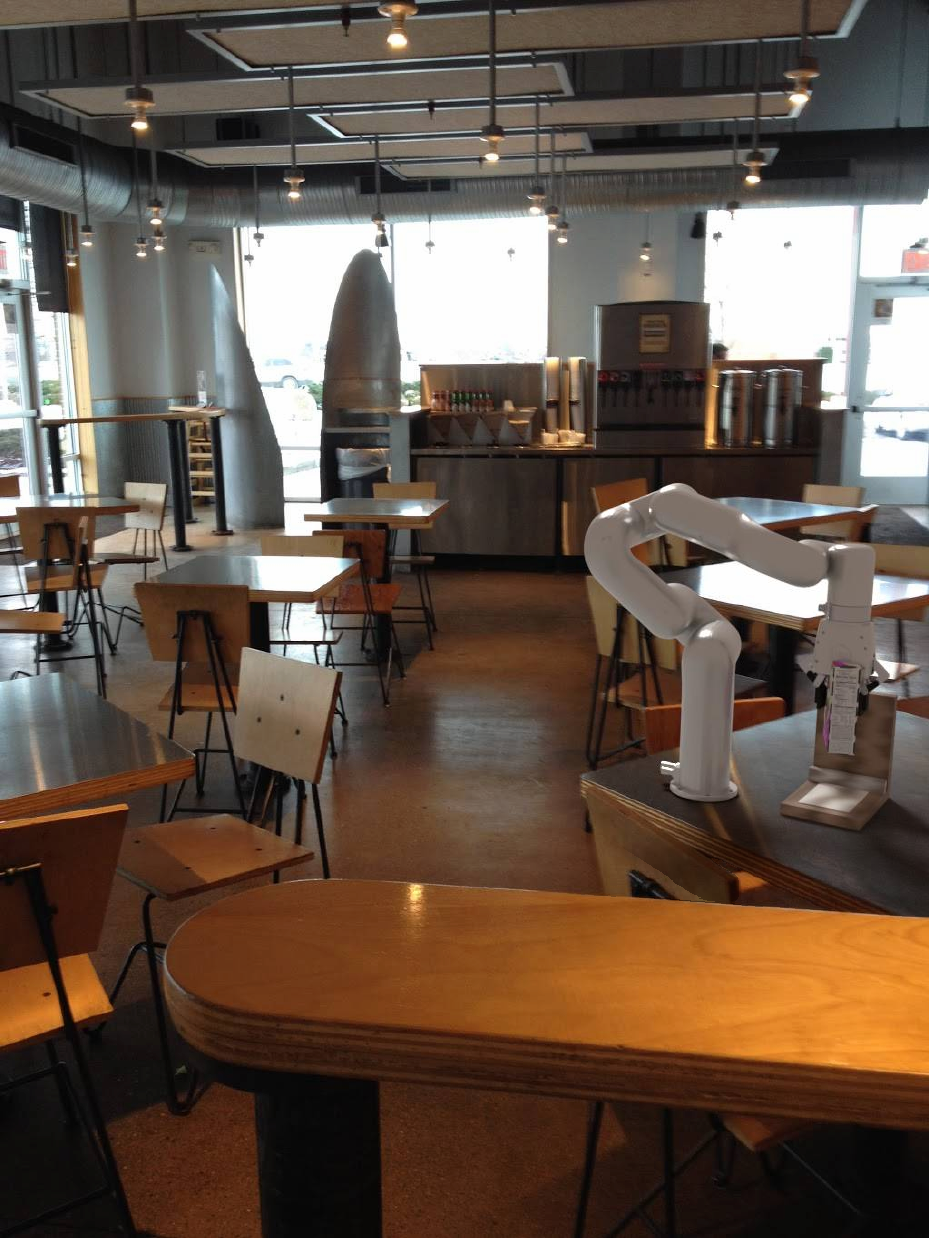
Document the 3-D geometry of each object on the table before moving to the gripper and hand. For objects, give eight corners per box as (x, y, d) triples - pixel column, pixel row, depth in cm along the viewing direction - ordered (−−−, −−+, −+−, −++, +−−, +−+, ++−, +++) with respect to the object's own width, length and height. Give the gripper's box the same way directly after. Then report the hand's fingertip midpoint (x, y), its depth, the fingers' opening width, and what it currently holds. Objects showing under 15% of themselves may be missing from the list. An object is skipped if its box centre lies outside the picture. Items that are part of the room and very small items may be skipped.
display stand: (780, 813, 200) (787, 706, 196) (815, 783, 216) (822, 683, 212) (859, 830, 192) (867, 719, 188) (889, 797, 208) (897, 695, 204)
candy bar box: (820, 736, 207) (827, 650, 204) (848, 738, 206) (856, 652, 203) (825, 754, 196) (832, 664, 193) (855, 756, 195) (863, 666, 192)
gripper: (793, 611, 198) (786, 707, 202) (893, 622, 189) (884, 724, 192) (806, 605, 204) (799, 698, 208) (904, 616, 195) (895, 714, 198)
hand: (840, 710), depth 200 cm, fingers closed on candy bar box, 6 cm apart
